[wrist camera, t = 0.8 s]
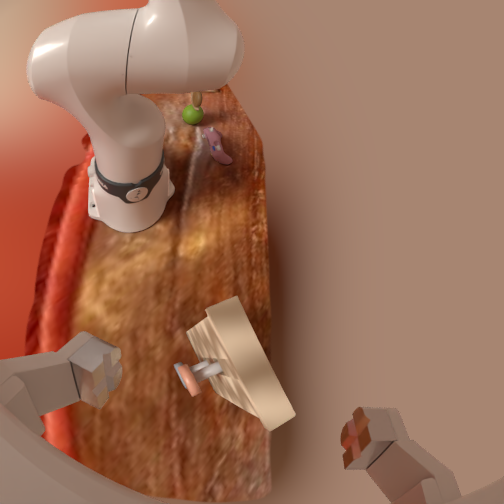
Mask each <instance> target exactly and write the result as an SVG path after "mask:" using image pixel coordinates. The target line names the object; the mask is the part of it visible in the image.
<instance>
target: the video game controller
mask: <svg viewBox="0 0 504 504" xmlns="http://www.w3.org/2000/svg"><path fill="white" fill-rule="evenodd" d="M203 130H204V135H203V134H202V137H203V138H204V137H205V138H206V139H207V140H208V143H209V145H210V150H211V156H213V158H214V160H216V161H218V162H219V163H221V164H225V165H228V164H230V163H232V158H231V157H229V156H228V155H226V154H225V153H224V151H223V147H222V145H221V138H222V134H221V133H220V132H219V131H217V130H216V129H215V128H213V127H208V128H205V129H203Z"/></svg>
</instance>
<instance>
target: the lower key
mask: <svg viewBox="0 0 504 504" xmlns="http://www.w3.org/2000/svg"><path fill="white" fill-rule="evenodd" d="M182 365H183V364H182V362H179V363H177V364H174V367H175V369H176V371H177V373H178V375H179V377H180V379H181V381H182V383H183V385H184V387H185V388H187V387H186V385H185V383H184V381H183V379H182V377H181V375H180V373H179V371H178V367H180V366H182ZM206 366H209V364H208V362H207V360H205V361H203V362H201V363H199V364H196V365H194V366H192V367H189V368H190V370H191V372H192V373H193V372H195V371H197V370H200V369H202V368H204V367H206Z"/></svg>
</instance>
